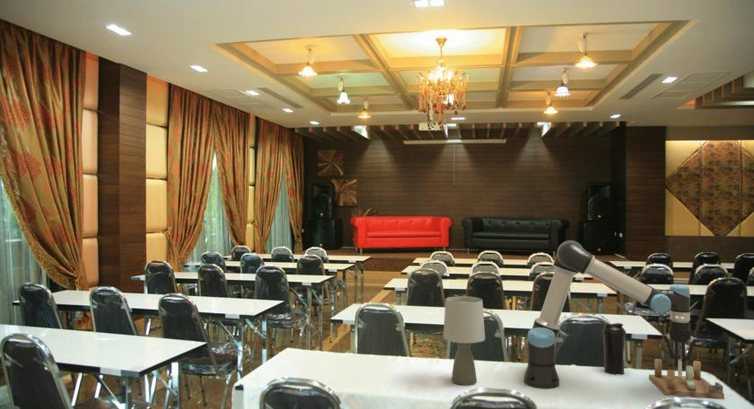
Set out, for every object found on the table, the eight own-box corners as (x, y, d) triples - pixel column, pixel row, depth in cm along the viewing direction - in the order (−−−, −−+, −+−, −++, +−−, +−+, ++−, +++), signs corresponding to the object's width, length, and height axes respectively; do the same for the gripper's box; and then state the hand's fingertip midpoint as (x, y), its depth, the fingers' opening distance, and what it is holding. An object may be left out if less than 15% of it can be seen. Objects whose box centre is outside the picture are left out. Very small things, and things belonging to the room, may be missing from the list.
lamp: (435, 381, 239) (434, 299, 240) (458, 372, 253) (458, 294, 253) (470, 391, 227) (470, 304, 227) (493, 381, 240) (492, 299, 241)
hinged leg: (696, 391, 220) (696, 373, 220) (687, 390, 222) (687, 372, 222) (693, 383, 230) (693, 366, 231) (684, 382, 232) (684, 365, 232)
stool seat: (665, 395, 222) (665, 372, 222) (649, 378, 243) (648, 357, 243) (724, 398, 218) (723, 375, 218) (701, 381, 239) (701, 360, 239)
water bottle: (628, 375, 248) (628, 326, 248) (605, 374, 250) (604, 325, 250) (623, 369, 257) (622, 321, 258) (600, 368, 259) (600, 320, 260)
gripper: (662, 320, 232) (662, 374, 232) (697, 324, 225) (697, 380, 225) (663, 317, 238) (664, 370, 238) (697, 321, 231) (697, 375, 231)
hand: (680, 374), depth 232 cm, fingers closed
